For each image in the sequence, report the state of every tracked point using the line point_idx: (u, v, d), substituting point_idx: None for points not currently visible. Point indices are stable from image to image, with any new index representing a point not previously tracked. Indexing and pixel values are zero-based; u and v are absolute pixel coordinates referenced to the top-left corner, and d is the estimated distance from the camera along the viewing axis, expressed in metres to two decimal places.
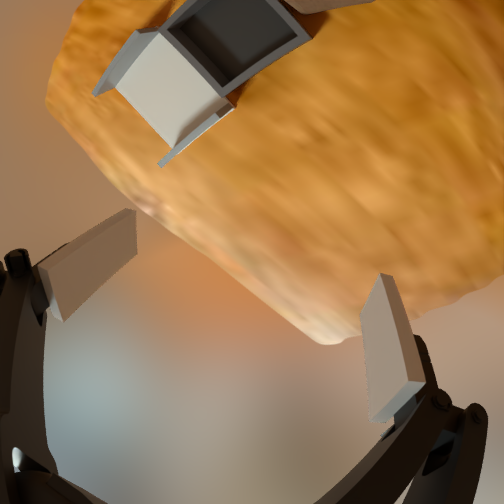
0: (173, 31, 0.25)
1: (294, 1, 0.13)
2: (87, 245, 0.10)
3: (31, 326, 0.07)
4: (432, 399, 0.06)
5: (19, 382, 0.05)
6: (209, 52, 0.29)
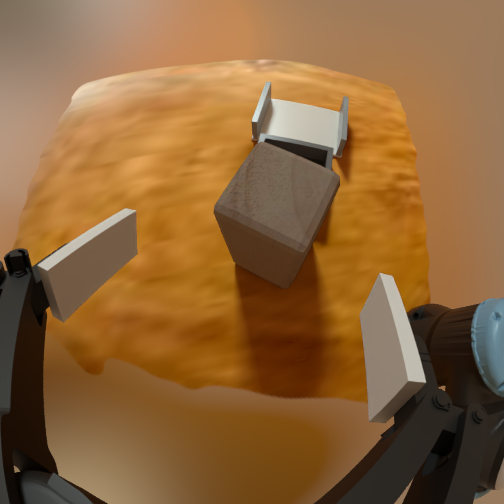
0: (323, 153, 0.47)
1: None
2: (87, 245, 0.10)
3: (31, 326, 0.07)
4: (432, 399, 0.06)
5: (19, 382, 0.05)
6: None
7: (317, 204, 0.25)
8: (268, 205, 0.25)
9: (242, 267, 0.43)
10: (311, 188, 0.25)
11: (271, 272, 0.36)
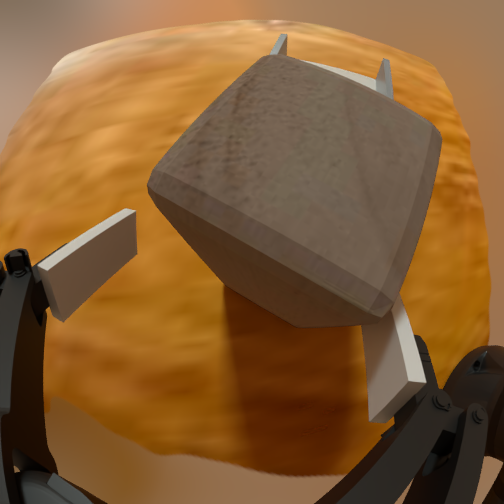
0: None
1: None
2: (87, 245, 0.10)
3: (31, 326, 0.07)
4: (432, 399, 0.06)
5: (19, 382, 0.05)
6: None
7: (414, 184, 0.08)
8: (291, 176, 0.09)
9: (234, 290, 0.27)
10: (395, 143, 0.09)
11: (282, 312, 0.19)
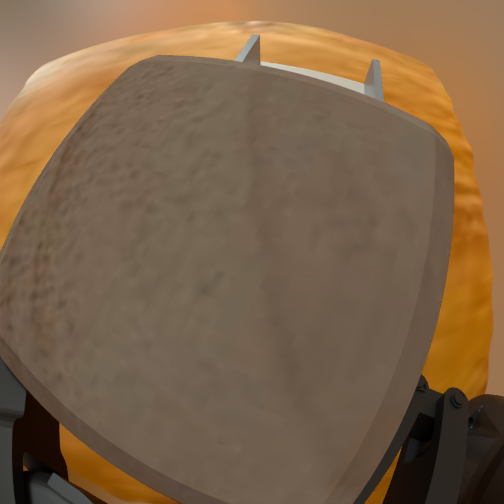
0: None
1: None
2: None
3: None
4: None
5: None
6: None
7: (409, 294, 0.04)
8: (117, 331, 0.04)
9: None
10: (363, 193, 0.04)
11: None
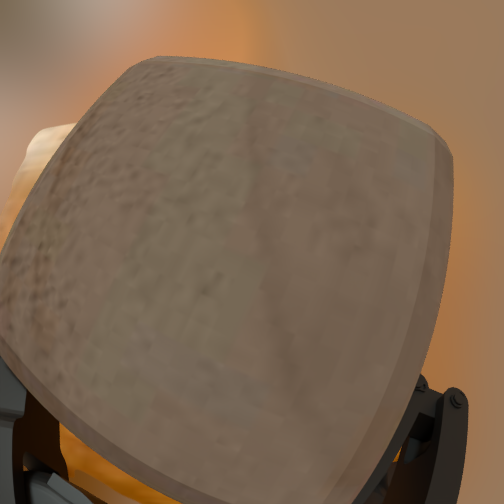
0: None
1: None
2: None
3: None
4: None
5: None
6: None
7: (408, 295, 0.04)
8: (117, 331, 0.04)
9: None
10: (363, 194, 0.04)
11: None
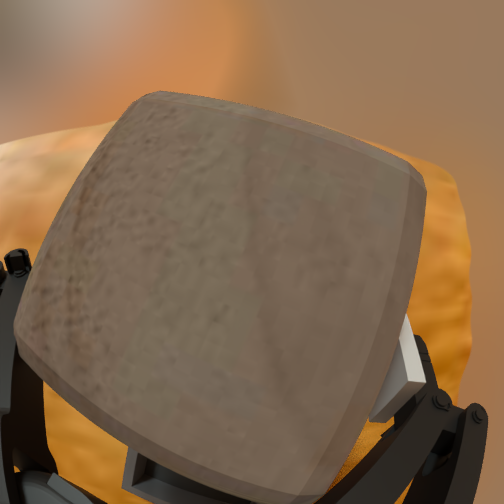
0: None
1: None
2: None
3: None
4: (432, 399, 0.06)
5: (19, 382, 0.05)
6: None
7: (372, 319, 0.05)
8: (147, 350, 0.05)
9: None
10: (340, 238, 0.06)
11: None
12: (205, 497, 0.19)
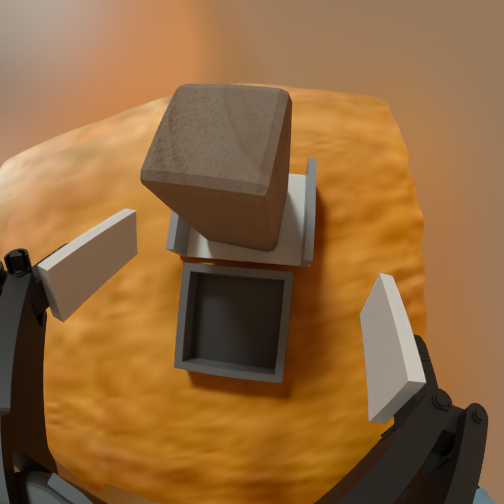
0: (279, 280, 0.33)
1: None
2: (87, 245, 0.10)
3: (31, 326, 0.07)
4: (432, 399, 0.06)
5: (19, 382, 0.05)
6: (237, 282, 0.36)
7: (267, 129, 0.17)
8: (204, 150, 0.18)
9: (215, 241, 0.36)
10: (254, 113, 0.18)
11: (245, 236, 0.29)
12: (240, 364, 0.34)
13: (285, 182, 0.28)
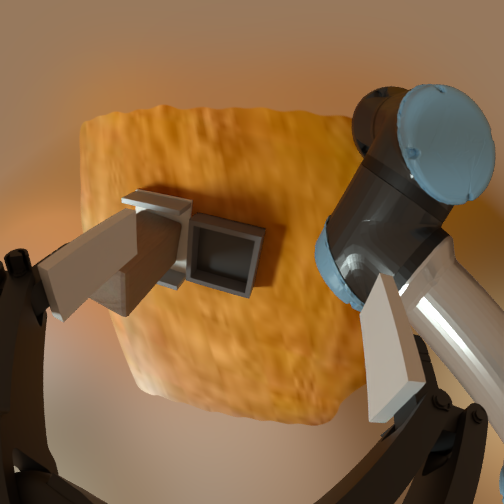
0: (195, 226, 0.50)
1: None
2: (87, 245, 0.10)
3: (31, 326, 0.07)
4: (432, 399, 0.06)
5: (19, 382, 0.05)
6: (201, 247, 0.55)
7: None
8: (111, 292, 0.38)
9: None
10: None
11: (163, 252, 0.48)
12: None
13: None
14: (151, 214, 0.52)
